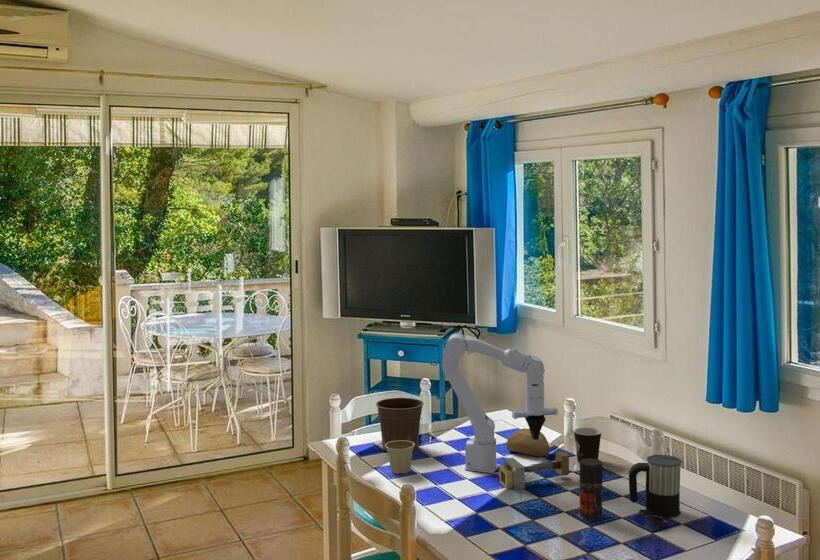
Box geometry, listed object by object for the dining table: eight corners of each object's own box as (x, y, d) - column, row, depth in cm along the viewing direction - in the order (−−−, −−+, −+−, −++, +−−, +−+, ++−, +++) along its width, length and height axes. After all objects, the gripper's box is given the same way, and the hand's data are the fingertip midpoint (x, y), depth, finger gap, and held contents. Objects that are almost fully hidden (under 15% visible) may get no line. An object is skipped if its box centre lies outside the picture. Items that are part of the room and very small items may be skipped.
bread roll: (512, 446, 296) (512, 424, 295) (554, 452, 288) (554, 429, 288) (501, 454, 287) (501, 431, 286) (544, 460, 280) (544, 436, 279)
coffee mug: (601, 466, 273) (601, 435, 272) (573, 465, 275) (573, 434, 274) (600, 454, 284) (600, 425, 283) (574, 453, 286) (574, 424, 285)
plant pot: (403, 438, 307) (402, 394, 305) (434, 448, 295) (433, 402, 293) (367, 448, 297) (366, 402, 295) (397, 459, 284) (396, 411, 283)
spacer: (506, 488, 255) (506, 472, 255) (499, 482, 261) (499, 466, 260) (512, 487, 256) (512, 471, 255) (505, 481, 261) (505, 465, 261)
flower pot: (380, 474, 270) (380, 447, 269) (392, 464, 279) (392, 439, 278) (408, 477, 267) (408, 450, 266) (419, 467, 275) (419, 441, 274)
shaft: (520, 480, 257) (520, 461, 256) (515, 475, 261) (514, 456, 260) (568, 475, 261) (568, 455, 260) (562, 470, 265) (562, 451, 264)
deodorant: (577, 512, 236) (577, 458, 234) (598, 510, 236) (598, 457, 235) (583, 520, 230) (583, 465, 228) (605, 519, 230) (605, 464, 229)
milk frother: (672, 505, 239) (673, 453, 238) (698, 527, 224) (699, 471, 222) (623, 508, 238) (623, 456, 236) (645, 531, 222) (646, 475, 220)
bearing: (515, 489, 254) (515, 468, 253) (503, 479, 263) (503, 458, 262) (524, 488, 255) (524, 467, 254) (513, 478, 264) (512, 457, 263)
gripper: (517, 401, 263) (518, 444, 265) (561, 397, 267) (561, 440, 268) (509, 396, 270) (509, 438, 271) (552, 392, 274) (552, 433, 275)
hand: (535, 438), depth 270 cm, fingers closed
